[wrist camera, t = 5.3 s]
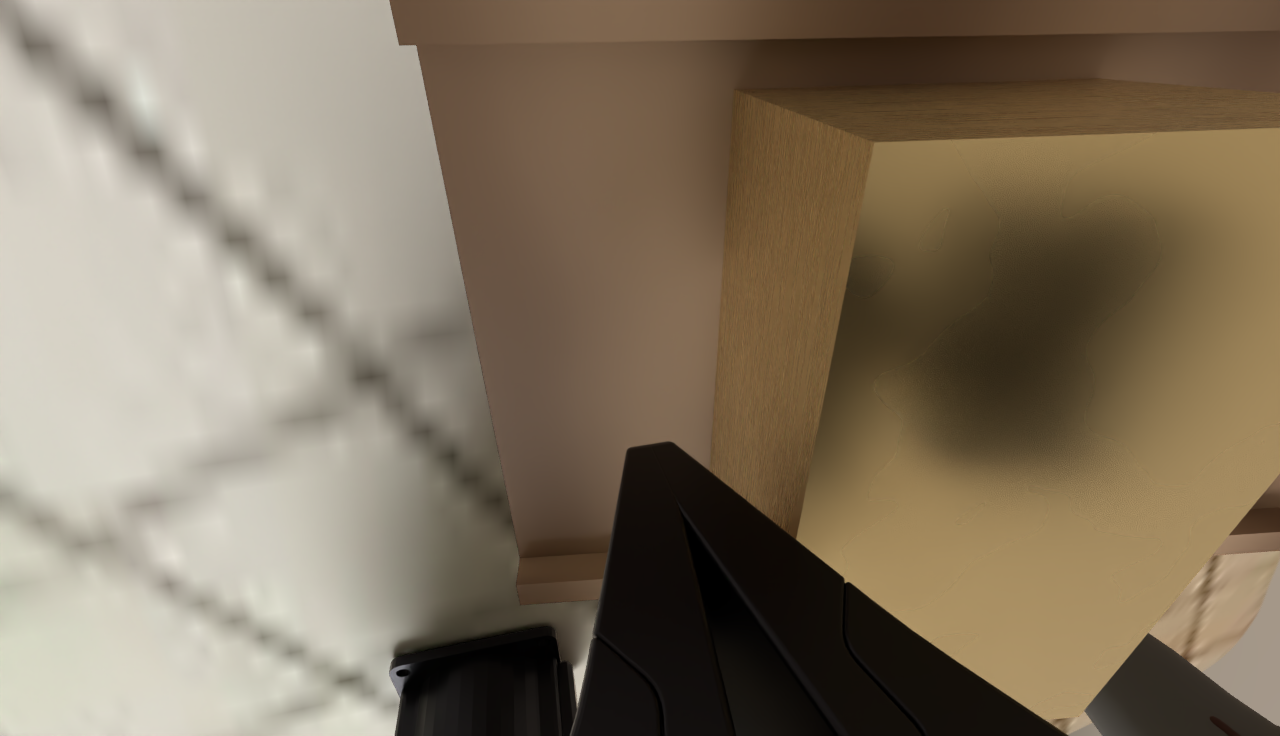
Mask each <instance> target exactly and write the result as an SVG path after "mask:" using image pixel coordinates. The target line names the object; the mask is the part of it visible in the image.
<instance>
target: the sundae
mask: <svg viewBox="0 0 1280 736" xmlns="http://www.w3.org/2000/svg"><path fill="white" fill-rule="evenodd" d="M1084 711H1085V712H1086V714H1087V715H1088V717H1089V718H1090V719H1091V721H1092V722H1093V723H1094V725H1095V726H1096V728H1097V729H1098V730H1099V732H1100V733H1101V734H1102V736H1280V727H1279V726H1276V725H1274V724H1273V723H1271V722H1270V721H1268V720H1267V719H1266V718H1264V717H1263V716H1261V715H1260V714H1258V713H1257V712H1255V711H1254V710H1252V709H1251V708H1249V707H1248V706H1247V705H1245V704H1243V703H1242V702H1240V701H1239V700H1238V699H1236V698H1235V697H1233V696H1232V695H1230V694H1229V693H1228V692H1227V691H1225V690H1224V689H1223V688H1221V687H1220V686H1219V685H1218V684H1216V683H1215V682H1214V681H1212V680H1211V679H1210V678H1209V677H1207V676H1206V675H1205V674H1203V673H1202V672H1201V671H1200V670H1198V669H1197V668H1196V667H1194V666H1193V665H1192V664H1191V663H1189V662H1188V661H1187V660H1185V659H1184V658H1183V657H1182V656H1180V655H1179V654H1178V653H1176V652H1175V651H1174V650H1172V649H1171V648H1169V647H1168V646H1167V645H1165V644H1164V643H1162V642H1161V641H1159V640H1158V639H1156V638H1155V637H1153V636H1152V635H1150V634H1149V633H1148V634H1147V635H1146V636H1145V637H1144V639H1143V640H1142V641H1141V642H1140V643H1139V645H1138V646H1137V647H1136V648H1135V649H1134V651H1133V652H1132V653H1131V654H1130V655H1129V657H1128V658H1127V659H1126V660H1125V662H1124V663H1123V664H1122V665H1121V666H1120V668H1119V669H1118V670H1117V671H1116V672H1115V674H1114V675H1113V676H1112V677H1111V678H1110V680H1109V681H1108V682H1107V683H1106V684H1105V686H1104V687H1103V688H1102V689H1101V691H1100V692H1099V693H1098V694H1097V695H1096V697H1095V698H1094V699H1093V700H1092V701H1091V703H1090V704H1089V705H1088V706H1087V707H1086V709H1085V710H1084Z"/></svg>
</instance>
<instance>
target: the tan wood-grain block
mask: <svg viewBox="0 0 1280 736" xmlns="http://www.w3.org/2000/svg"><path fill="white" fill-rule="evenodd" d="M710 472H712V473H713V474H714V475H715V476H717V477H718V478H719V479H720V480H722V481H723V482H724V483H725V484H727V485H728V486H729V487H731V488H732V489H733V490H734V491H736V492H737V493H738V494H739V495H741V496H742V497H743V498H744V499H746V500H747V501H748V502H749V503H751V504H752V505H753V506H754V507H756V508H757V509H758V510H760V511H761V512H762V513H763V514H765V515H766V516H767V517H768V518H770V519H771V520H772V521H773V522H775V523H776V524H777V525H778V526H780V527H781V528H782V529H783V530H785V531H786V532H787V533H788V534H790V535H791V536H792V537H794V538H795V539H796V540H797V541H799V542H800V543H801V544H802V545H804V546H805V547H806V548H807V549H809V550H810V551H811V552H812V553H814V554H815V555H816V556H817V557H819V558H820V559H821V560H822V561H824V562H825V563H826V564H828V565H829V566H830V567H831V568H833V569H834V570H835V571H836V572H838V573H839V574H840V575H841V576H843V577H844V579H845V583H846V582H850V583H852V584H853V585H854V586H856V587H857V588H858V589H859V590H861V591H862V592H863V593H864V594H866V595H867V596H868V597H869V598H871V599H872V600H873V601H875V602H876V603H877V604H878V605H880V606H881V607H882V608H884V609H885V610H886V611H888V612H889V613H890V614H892V615H893V616H894V617H896V618H897V619H898V620H900V621H901V622H902V623H904V624H905V625H906V626H908V627H909V628H910V629H911V630H913V631H914V632H916V633H917V634H919V635H920V636H921V637H923V638H924V639H926V640H927V641H929V642H930V643H932V644H933V645H934V646H936V647H937V648H939V649H940V650H942V651H943V652H944V653H946V654H947V655H949V656H950V657H952V658H953V659H955V660H956V661H957V662H959V663H960V664H962V665H963V666H965V667H966V668H968V669H969V670H971V671H972V672H974V673H975V674H977V675H978V676H980V677H981V678H983V679H984V680H986V681H987V682H989V683H990V684H992V685H993V686H995V687H996V688H998V689H999V690H1001V691H1002V692H1004V693H1005V694H1007V695H1008V696H1010V697H1011V698H1013V699H1014V700H1016V701H1017V702H1019V703H1020V704H1022V705H1023V706H1025V707H1026V708H1028V709H1029V710H1031V711H1032V712H1034V713H1035V714H1037V715H1038V716H1040V717H1041V718H1043V719H1044V720H1049V719H1060V718H1071V717H1079V716H1080V715H1081V714H1082V712H1083V711H1084V710H1085V709H1086V707H1087V706H1088V705H1089V704H1090V703H1091V701H1092V700H1093V699H1094V698H1095V697H1096V695H1097V694H1098V693H1099V692H1100V691H1101V689H1102V688H1103V687H1104V686H1105V684H1106V683H1107V682H1108V681H1109V680H1110V678H1111V677H1112V676H1113V675H1114V674H1115V672H1116V671H1117V670H1118V669H1119V668H1120V666H1121V665H1122V664H1123V663H1124V662H1125V660H1126V659H1127V658H1128V657H1129V655H1130V654H1131V653H1132V652H1133V651H1134V649H1135V648H1136V647H1137V646H1138V645H1139V643H1140V642H1141V641H1142V640H1143V639H1144V637H1145V636H1146V635H1147V634H1148V632H1149V631H1150V630H1151V629H1152V628H1153V626H1154V625H1155V624H1156V623H1157V622H1158V620H1159V619H1160V618H1161V617H1162V616H1163V614H1164V613H1165V612H1166V611H1167V609H1168V608H1169V607H1170V606H1171V605H1172V603H1173V602H1174V601H1175V600H1176V599H1177V597H1178V596H1179V595H1180V594H1181V593H1182V591H1183V590H1184V589H1185V588H1186V586H1187V585H1188V584H1189V583H1190V582H1191V580H1192V579H1193V578H1194V577H1195V576H1196V574H1197V573H1198V572H1199V571H1200V570H1201V568H1202V567H1203V566H1204V565H1205V563H1206V562H1207V561H1208V560H1209V559H1210V557H1211V556H1212V555H1213V554H1214V553H1215V551H1216V550H1217V549H1218V548H1219V547H1220V545H1221V544H1222V543H1223V542H1224V541H1225V539H1226V538H1227V537H1228V536H1229V534H1230V533H1231V532H1232V531H1233V530H1234V528H1235V527H1236V526H1237V525H1238V524H1239V522H1240V521H1241V520H1242V519H1243V518H1244V516H1245V515H1246V514H1247V513H1248V511H1249V510H1250V509H1251V508H1252V507H1253V505H1254V504H1255V503H1256V502H1257V501H1258V499H1259V498H1260V497H1261V496H1262V495H1263V493H1264V492H1265V491H1266V490H1267V488H1268V487H1269V486H1270V485H1271V484H1272V482H1273V481H1274V480H1275V479H1276V478H1277V476H1278V475H1279V474H1280V93H1272V92H1259V91H1247V90H1235V89H1223V88H1210V87H1198V86H1186V85H1174V84H1161V83H1149V82H1137V81H1125V80H1112V79H1100V78H1089V79H1057V80H1024V81H992V82H959V83H927V84H894V85H862V86H829V87H797V88H764V89H734V95H733V111H732V127H731V143H730V158H729V174H728V190H727V205H726V221H725V237H724V253H723V268H722V284H721V300H720V316H719V331H718V347H717V363H716V379H715V394H714V410H713V426H712V442H711V457H710Z"/></svg>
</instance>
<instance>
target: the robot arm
mask: <svg viewBox="0 0 1280 736" xmlns="http://www.w3.org/2000/svg"><path fill="white" fill-rule="evenodd" d="M389 676H390V678H391V680H392V682H393V684H394V686H395V688H396V690H397V693H398V695H399V697H400V705H399V712H398V718H397V724H396V731H395V736H1068V735H1067V734H1065V733H1064V732H1062V731H1061V730H1059V729H1058V728H1056V727H1055V726H1053V725H1052V724H1050V723H1049V722H1047V721H1046V720H1044V719H1043V718H1041V717H1040V716H1038V715H1037V714H1035V713H1034V712H1032V711H1031V710H1029V709H1028V708H1026V707H1025V706H1023V705H1022V704H1020V703H1019V702H1017V701H1016V700H1014V699H1013V698H1011V697H1010V696H1008V695H1007V694H1005V693H1004V692H1002V691H1001V690H999V689H998V688H996V687H995V686H993V685H992V684H990V683H989V682H987V681H986V680H984V679H983V678H981V677H980V676H978V675H977V674H975V673H974V672H972V671H971V670H969V669H968V668H966V667H965V666H963V665H962V664H960V663H959V662H957V661H956V660H955V659H953V658H952V657H950V656H949V655H947V654H946V653H944V652H943V651H942V650H940V649H939V648H937V647H936V646H934V645H933V644H932V643H930V642H929V641H927V640H926V639H924V638H923V637H921V636H920V635H919V634H917V633H916V632H914V631H913V630H911V629H910V628H909V627H908V626H906V625H905V624H904V623H902V622H901V621H900V620H898V619H897V618H896V617H894V616H893V615H892V614H890V613H889V612H888V611H886V610H885V609H884V608H882V607H881V606H880V605H878V604H877V603H876V602H875V601H873V600H872V599H871V598H869V597H868V596H867V595H866V594H864V593H863V592H862V591H861V590H859V589H858V588H857V587H856V586H854V585H853V584H852V583H850V582H846V583H845V579H844V577H843V576H841V575H840V574H839V573H838V572H836V571H835V570H834V569H833V568H831V567H830V566H829V565H828V564H826V563H825V562H824V561H822V560H821V559H820V558H819V557H817V556H816V555H815V554H814V553H812V552H811V551H810V550H809V549H807V548H806V547H805V546H804V545H802V544H801V543H800V542H799V541H797V540H796V539H795V538H794V537H792V536H791V535H790V534H788V533H787V532H786V531H785V530H783V529H782V528H781V527H780V526H778V525H777V524H776V523H775V522H773V521H772V520H771V519H770V518H768V517H767V516H766V515H765V514H763V513H762V512H761V511H760V510H758V509H757V508H756V507H754V506H753V505H752V504H751V503H749V502H748V501H747V500H746V499H744V498H743V497H742V496H741V495H739V494H738V493H737V492H736V491H734V490H733V489H732V488H731V487H729V486H728V485H727V484H725V483H724V482H723V481H722V480H720V479H719V478H718V477H717V476H715V475H714V474H713V473H712V472H710V471H709V470H708V469H707V468H705V467H704V466H703V465H702V464H700V463H699V462H698V461H697V460H695V459H694V458H693V457H691V456H690V455H689V454H688V453H686V452H685V451H684V450H683V449H681V448H680V447H679V446H678V445H676V444H675V443H674V442H671V441H665V442H659V443H653V444H647V445H641V446H634V447H630V448H628V449H627V451H626V456H625V461H624V467H623V472H622V477H621V483H620V488H619V494H618V499H617V505H616V510H615V515H614V521H613V526H612V532H611V537H610V543H609V548H608V553H607V559H606V564H605V570H604V575H603V581H602V586H601V591H600V597H599V602H598V608H597V613H596V619H595V624H594V630H593V639H592V640H591V644H590V649H589V655H588V660H587V666H586V671H585V675H584V680H583V684H582V689H581V694H580V698H579V703H577V694H576V687H575V680H574V674H573V667H572V664H571V663H569V662H568V661H562V662H561V658H560V652H559V645H558V639H557V633H556V630H555V629H554V628H552V627H548V626H547V627H540V628H535V629H530V630H525V631H520V632H516V633H511V634H506V635H501V636H496V637H491V638H486V639H482V640H477V641H472V642H467V643H462V644H457V645H452V646H448V647H443V648H438V649H433V650H428V651H423V652H418V653H414V654H409V655H404V656H400V657H397V658H395V659H394V660H393V661H392V662H391V666H390V671H389Z"/></svg>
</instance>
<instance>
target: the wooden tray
mask: <svg viewBox="0 0 1280 736" xmlns="http://www.w3.org/2000/svg"><path fill="white" fill-rule="evenodd" d="M390 5H391V10H392V14H393V19H394V24H395V28H396V33H397V37H398V42H399V45H416V46H417V51H418V56H419V60H420V65H421V70H422V75H423V80H424V85H425V90H426V95H427V100H428V105H429V110H430V115H431V120H432V125H433V130H434V135H435V140H436V145H437V150H438V155H439V160H440V165H441V170H442V175H443V179H444V184H445V189H446V194H447V199H448V204H449V209H450V214H451V219H452V224H453V229H454V234H455V239H456V244H457V249H458V254H459V259H460V264H461V269H462V274H463V279H464V284H465V289H466V293H467V298H468V303H469V308H470V313H471V318H472V323H473V328H474V333H475V338H476V343H477V348H478V353H479V358H480V363H481V368H482V373H483V378H484V383H485V388H486V393H487V398H488V403H489V408H490V412H491V417H492V422H493V427H494V432H495V437H496V442H497V447H498V452H499V457H500V462H501V467H502V472H503V477H504V482H505V487H506V492H507V497H508V502H509V507H510V512H511V517H512V522H513V526H514V531H515V536H516V541H517V546H518V551H519V556H520V561H519V568H518V575H517V582H516V587H517V592H518V597H519V601H520V605H528V604H542V603H556V602H570V601H584V600H598V599H599V597H600V591H601V586H602V581H603V575H604V570H605V564H606V559H607V553H608V548H609V543H610V537H611V532H612V526H613V521H614V515H615V510H616V505H617V499H618V494H619V488H620V483H621V477H622V472H623V467H624V461H625V456H626V451H627V449H628V448H630V447H634V446H641V445H647V444H653V443H659V442H665V441H671V442H674V443H675V444H676V445H678V446H679V447H680V448H681V449H683V450H684V451H685V452H686V453H688V454H689V455H690V456H691V457H693V458H694V459H695V460H697V461H698V462H699V463H700V464H702V465H703V466H704V467H705V468H707V469H708V470H709V471H710V457H711V442H712V426H713V410H714V394H715V379H716V363H717V347H718V331H719V316H720V300H721V284H722V268H723V253H724V237H725V221H726V205H727V190H728V174H729V158H730V143H731V127H732V111H733V95H734V89H764V88H797V87H829V86H862V85H894V84H927V83H959V82H992V81H1024V80H1057V79H1089V78H1100V79H1112V80H1125V81H1137V82H1149V83H1161V84H1174V85H1186V86H1198V87H1210V88H1223V89H1235V90H1247V91H1259V92H1272V93H1280V0H390ZM1267 551H1280V474H1279V475H1278V476H1277V478H1276V479H1275V480H1274V481H1273V482H1272V484H1271V485H1270V486H1269V487H1268V488H1267V490H1266V491H1265V492H1264V493H1263V495H1262V496H1261V497H1260V498H1259V499H1258V501H1257V502H1256V503H1255V504H1254V505H1253V507H1252V508H1251V509H1250V510H1249V511H1248V513H1247V514H1246V515H1245V516H1244V518H1243V519H1242V520H1241V521H1240V522H1239V524H1238V525H1237V526H1236V527H1235V528H1234V530H1233V531H1232V532H1231V533H1230V534H1229V536H1228V537H1227V538H1226V539H1225V541H1224V542H1223V543H1222V544H1221V545H1220V547H1219V548H1218V549H1217V550H1216V551H1215V553H1214V554H1213V555H1226V554H1239V553H1253V552H1267Z"/></svg>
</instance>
